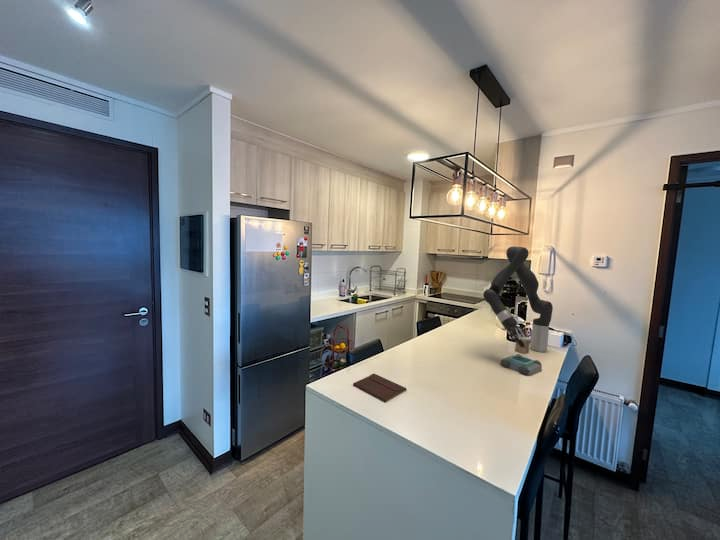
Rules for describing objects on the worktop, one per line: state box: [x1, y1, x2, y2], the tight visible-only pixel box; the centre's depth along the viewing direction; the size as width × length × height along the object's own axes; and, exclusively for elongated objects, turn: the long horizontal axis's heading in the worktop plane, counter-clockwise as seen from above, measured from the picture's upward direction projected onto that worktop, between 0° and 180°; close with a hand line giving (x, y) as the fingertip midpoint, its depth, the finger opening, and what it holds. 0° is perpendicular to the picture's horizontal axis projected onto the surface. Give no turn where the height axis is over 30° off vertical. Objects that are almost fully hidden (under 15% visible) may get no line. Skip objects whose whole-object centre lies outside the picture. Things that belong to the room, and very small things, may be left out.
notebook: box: [352, 373, 407, 404], centre depth 135 cm, size 15×20×2 cm
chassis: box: [500, 353, 543, 377], centre depth 163 cm, size 16×16×5 cm
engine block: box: [514, 336, 531, 355], centre depth 162 cm, size 5×5×8 cm
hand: (525, 345), depth 160 cm, fingers closed on engine block, 5 cm apart
